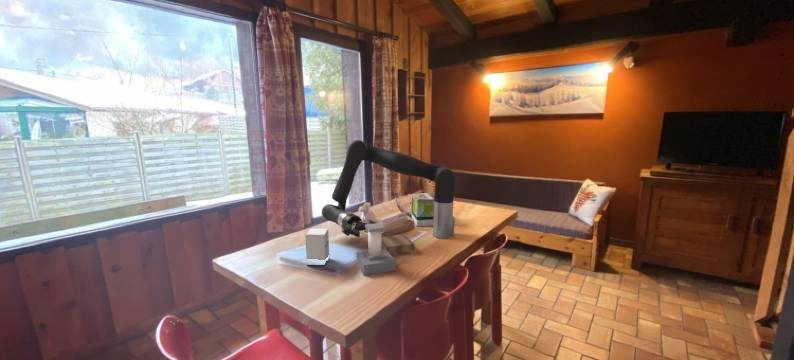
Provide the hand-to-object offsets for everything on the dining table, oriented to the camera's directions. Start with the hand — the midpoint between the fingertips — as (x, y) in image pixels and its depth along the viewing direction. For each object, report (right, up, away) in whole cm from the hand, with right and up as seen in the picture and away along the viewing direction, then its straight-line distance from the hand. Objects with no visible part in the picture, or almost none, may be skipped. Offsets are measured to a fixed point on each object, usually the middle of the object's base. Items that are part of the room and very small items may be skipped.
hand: (368, 232), depth 125 cm
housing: (+2, -9, -2) cm, 9 cm away
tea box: (+25, -3, +53) cm, 59 cm away
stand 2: (+10, -10, +15) cm, 21 cm away
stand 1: (+3, -13, -1) cm, 13 cm away
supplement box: (-20, -12, +2) cm, 23 cm away
